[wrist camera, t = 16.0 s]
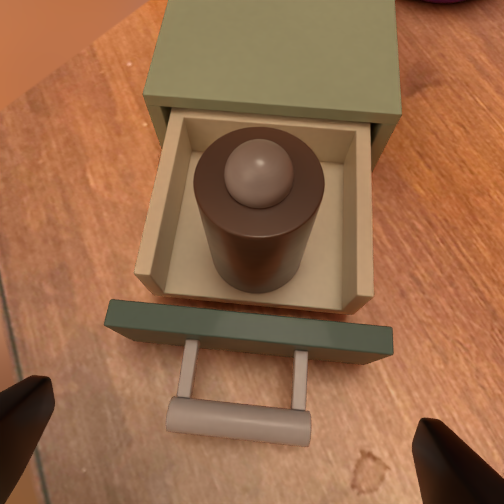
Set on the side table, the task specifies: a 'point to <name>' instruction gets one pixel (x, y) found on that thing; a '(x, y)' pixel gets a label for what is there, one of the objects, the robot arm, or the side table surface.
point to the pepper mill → (258, 205)
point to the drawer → (251, 324)
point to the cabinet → (279, 61)
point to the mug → (443, 1)
